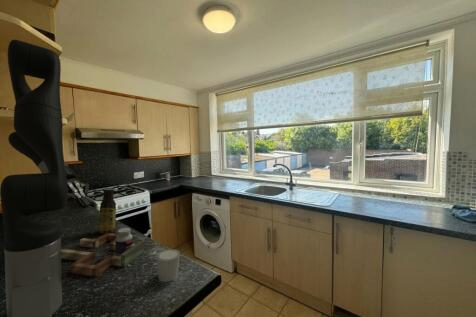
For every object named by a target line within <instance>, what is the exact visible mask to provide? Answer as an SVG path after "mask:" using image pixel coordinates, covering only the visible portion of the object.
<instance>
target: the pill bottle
mask: <svg viewBox="0 0 476 317" xmlns="http://www.w3.org/2000/svg"><path fill="white" fill-rule="evenodd" d="M117 234H118V236H117V237H116V240H115V250H114V252H115V254H114V256H121V254H123V253H124V252H125V251H127V250H128V249H129V248H131V247H132V244H134V243H133V242H134V241H133V239H134V238H133V234H131V228H130V227H123V228H120V229H117Z"/></svg>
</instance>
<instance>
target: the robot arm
mask: <svg viewBox="0 0 476 317" xmlns="http://www.w3.org/2000/svg"><path fill="white" fill-rule="evenodd" d="M7 64H8V65H7V66H8V70H9V76H10V82H11V87H12V92H13V95H14V101H15V105H14V109H13V128H14V131H13V132H11V133H10V134H9V135H8V138H7V139H8V143H9V145H10V146H11V147H12V148H13V149H14V150H15V151H17V152H19V153H20V154H22V155H23V156H25V157H27V158H28V159H29V160H31V162H33V163H34V165H35V166H37V168H38V170H39V172H40V173H39V172H38V173H23V174H21V173H18V174H11V175H6V176H5V177H4V178H3V179H2V181H1V184H0V207H1V214H2V222H3V240H4V241H3V242H4V243H3V246H4V247H3V250H4V273H5V274H4V276H5V277H4V279H5V280H4V281H5V300H6V301H5V304H6V317H53V315H54V314H55V313H56V312H57V311H58V310H59V309H60V307H61V306H62V304H63V292H62V291H63V289H62V288H63V287H62V284H63V283H62V280H63V279H62V259H61V249H62V237H61V236H62V235H61V234H62V230H61V226H60V225H59V224H56V223H53V222H47V221H37V220H34V219H30V218H28V217H27V216H28V215H36V214H41V213H42V214H43V213H49V212H54V211H60V210H63V209H64V208H65V207H66V206H67V203H71V202H74V203H76V204H77V205H78V207H80V208H81V209H83V210H85V209H87V208H89V207H90V206H91V202H90V201H89V200H88V199H87V196H88V195H89V194H90V193H89V192H90V191H89V190H90V184H89V183H88V182H85V183H82V182H81V181H80V180H79V179H77V173H76V172H74V171H73V169H72V168H71V167H70V166H69V165H68V164H67V162H66V161H65V159H64V158H65V157H64V149H63V148H64V147H63V136H64V135H63V132H64V131H63V130H64V129H63V126H64V125H63V113H62V103H61V74H62V73H61V69H62V68H61V59H60V57H59V54H58V52H56V51H53V50H52V49H48V48H46V47H43V46H40V45H35V44H33V43H29V42H27V41H22V40H18V39H11V40H10V42H8V47H7ZM26 76H27V77H31V78H35V79H39V80H40V79H41V80H43V81H42V82H41V84H40V85H38V86H37V87H35V88H34V89H31V87H30V85H29V84H28V82H27V80H26Z"/></svg>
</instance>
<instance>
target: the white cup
mask: <svg viewBox="0 0 476 317" xmlns="http://www.w3.org/2000/svg"><path fill="white" fill-rule="evenodd" d="M180 257H181V252H180V251H179V250H178V249H175V248H174V249H173V248H169V249H164V250H161V251H160V252H159V253H157V255H156V264H157V272H158V280H159V281H160V282H161V283H162V282H163V283H169V282H173V281H174V280H175V279H177V278H178V276H179V275H178V273H179V265H180Z"/></svg>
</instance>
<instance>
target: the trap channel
mask: <svg viewBox="0 0 476 317" xmlns="http://www.w3.org/2000/svg"><path fill="white" fill-rule="evenodd" d="M117 236H118V233H107V234H102V235H101V236H99V237H98V238H96V239H93V238H85V237H83V238H81V239H79V247H86V248H93V249H97V248H98V247H100V246H102V245H103V244H105V243H108V242H110V243H109V250H110V251H115V240H116V237H117ZM142 253H144V241H143V240H139V241H137V242H136V243H132V247H131V248H129V249H128V250H127V251H125V252H124V253H123V254H121V256H115V254H114V255H112V254H110V255H109V256H107V257H106V258H105V259H103V260H102V261H100V262H99V263H97V264H92V263H93V262H94V261H96V253H95V252H89V251H81V250H74V249H73V250H72V249H64V248H61V260H62V259H63V260H70V261H71V260H72V261H75V262H73V263H72V264H69V265H70V274H74V275H83V276H89V277H96V278H97V277H98V276H99V275H100V274H102V273H103V272H104V271H105V270H107V269H108V268H110V267H111V266H114V267H122V268H126V267H127V266H128V265H129V264H130V263H131V262H133V261H134V260H135V259H137V258H138V257H139V256H140V255H141V254H142Z"/></svg>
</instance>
